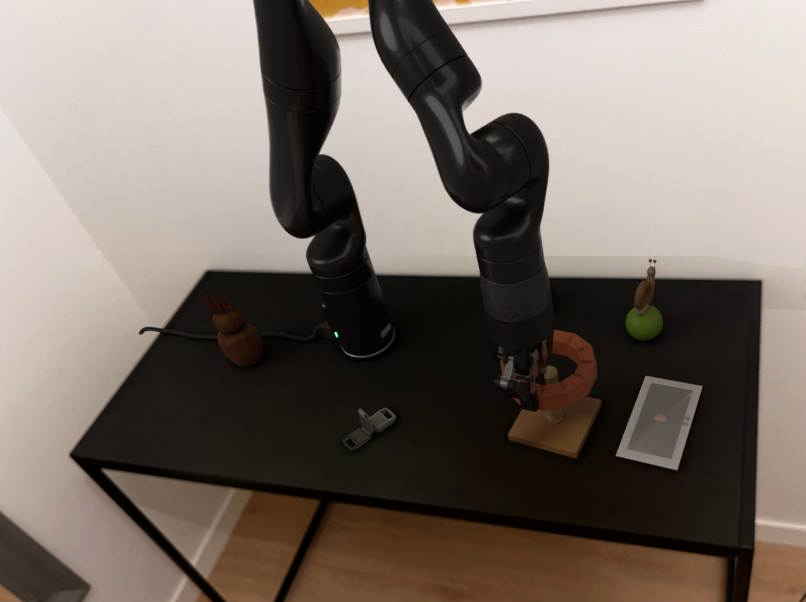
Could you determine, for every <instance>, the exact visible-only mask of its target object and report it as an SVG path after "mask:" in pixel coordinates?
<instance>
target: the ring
mask: <svg viewBox="0 0 806 602" xmlns="http://www.w3.org/2000/svg"><path fill="white" fill-rule="evenodd" d="M553 354H554V355H558V356H562V357H567V358H569V359H570V360H572V362H574V363H575V364H577V367H576V369H575V371H574V372H573V373H572V374H571V375H570V376H568V377H566V378H565V379H564V380H562V381H559V383H553V384H547V385H540V384H536V389H537V397H538V403H539V408H538V409H539V410H544V411H546V410H552V409H558V408H564V407H569V406H571V405H572V404H574V403H575V402H577V401H579V400H580V399H582V398H583V397H585V396H586V397H587V396H588V395H589V394H590V392H591V391H592V388H593V386H594V385H595V382H596V380H597V378H598V369H597V368H598V367H597V360H596V357H595V353H594V349H593V346H592V344H591V343H589V342H587V341H586V340H585V339H583V338H582V337H581V336H580V335H578V334H576V333H574V332H569V331H563V330H558V329H554V335H553V345H552V355H553ZM500 359H501V360H500V368H501V369H500V370H501V375H503V373H504V370H505V365H504V364H503V361H502V358H500ZM521 381H522V382H526V383H527V381H525V380H521ZM512 399H513V400H514V401H515V402H516V403H517V404H518V405H519V406H521V404H520V399H516V398H512Z"/></svg>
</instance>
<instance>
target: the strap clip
mask: <svg viewBox="0 0 806 602" xmlns="http://www.w3.org/2000/svg"><path fill="white" fill-rule="evenodd" d="M386 413H387V414H389V415H390V416H391V417H390V418H388V417H387V416H386V415H385V414H386ZM357 414H358V418H359V422H360V425H361V426H359V427H358V428H355V430H353V431H351V432H350V433H348V434H347V435H346V436H345V437H343V439H341V441H342V443H343V444H344V446H345V447H347V448H348V449H349V450H350V451H355V450H357V449H359V448H361V447H362V446H363V445H364V444H366V443H367V442H368V441H370V440H371V436H372V435H373V434H374V432H375V433H381V432H382V431H384V430H385V429H387V428H388V427H390V426H391V425H393V424H394V422H395V421H396V420H397V416H396V414H395V413H394V412H393V411H392V410H390V409H389V408H388V407H384V408H382V409H379V410H378V411H376V412H375V413H373V414H372V415H371V416H369V415H368V414H367V413H366V412H365V411H364V410H363V409H362V408H361V407H359V408H357ZM348 440H351V441H352V443H354V444H355V445H354V446H350V445H349V443H347V441H348Z"/></svg>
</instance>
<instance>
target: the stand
mask: <svg viewBox="0 0 806 602" xmlns="http://www.w3.org/2000/svg"><path fill="white" fill-rule="evenodd" d="M546 366H547V371H546V373H545V374H544V375H545V382H546V385H547V384H553V383H559V382H560V377H559V371H558V370H559V369H558V368H556V366H553V365H546ZM601 408H602V399H599V398H595V397H590V396H587V395H586V396H585V397H583V398H582V399H580V400H579V401H577V402H575V403H574V404H572V405H571V406H569V407H564V408H558V409H552V410H546V411H544V410H539V409H538V410H537V412H532V411H528V410H524V409H522V408H521V410H520V411H519V414H518V415H517V418H516V419H515V421H514V423H513V425H512V426H511V428H510V430H509V432H508V434H507V437H508V441H511V442H515V443H517V444H521V445H525V446H528V447H531V448H532V447H533V448H536V449H540V450H543V451H548V452H551V453H553V454H554V453H555V454H559V455H562V456H564V457H565V456H566V457H568V458H573V459H578V457H579V455H580V453H581V451H582V448H583V446H584V444H585V442H586V440H587V438H588V436H589V434H590V431H591V429H592V427H593V425H594V423H595V420H596V419H597V416H598V415H599V412H600V410H601Z"/></svg>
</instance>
